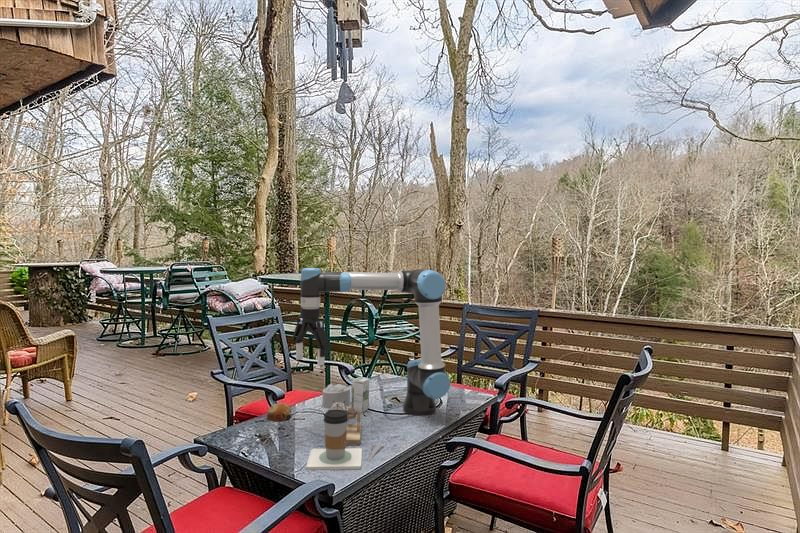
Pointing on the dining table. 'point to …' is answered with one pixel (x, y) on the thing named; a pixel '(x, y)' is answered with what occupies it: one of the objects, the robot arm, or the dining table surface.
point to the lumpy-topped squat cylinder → (335, 395)
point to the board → (321, 461)
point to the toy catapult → (353, 428)
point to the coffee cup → (335, 433)
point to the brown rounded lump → (279, 412)
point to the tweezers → (375, 452)
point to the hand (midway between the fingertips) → (309, 362)
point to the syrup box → (360, 394)
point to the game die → (338, 406)
